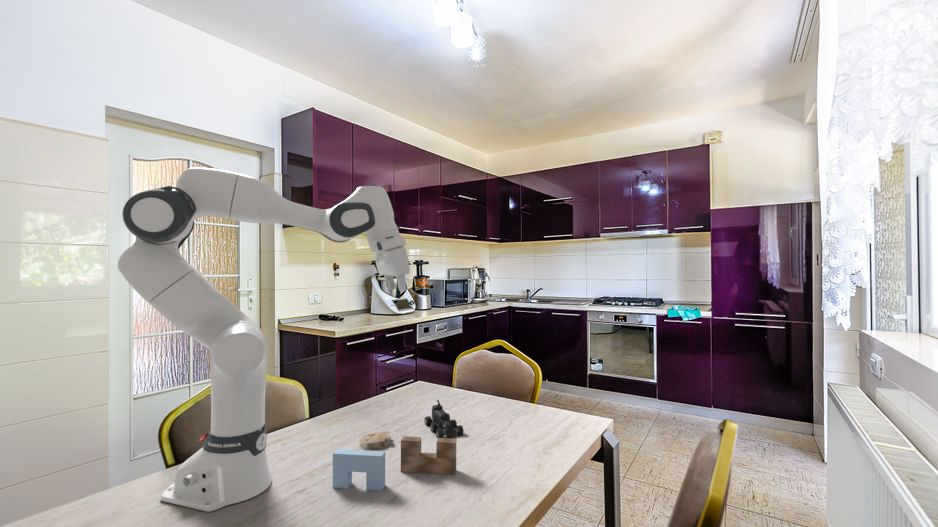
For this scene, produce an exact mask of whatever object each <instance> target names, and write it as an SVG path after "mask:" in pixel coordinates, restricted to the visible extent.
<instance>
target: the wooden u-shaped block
mask: <svg viewBox="0 0 938 527" xmlns="http://www.w3.org/2000/svg"><path fill="white" fill-rule="evenodd" d="M400 472H401V473H412V474H433V475H434V474H435V475H449V476H450V475H451V476H455V475H456V474H457V473H456V472H457V438H452V437H451V438H449V437H443V438H438V439H437V440H436V451H435V453H434V452H422V436H407V435H405V436H402V438H401V439H400Z"/></svg>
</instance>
